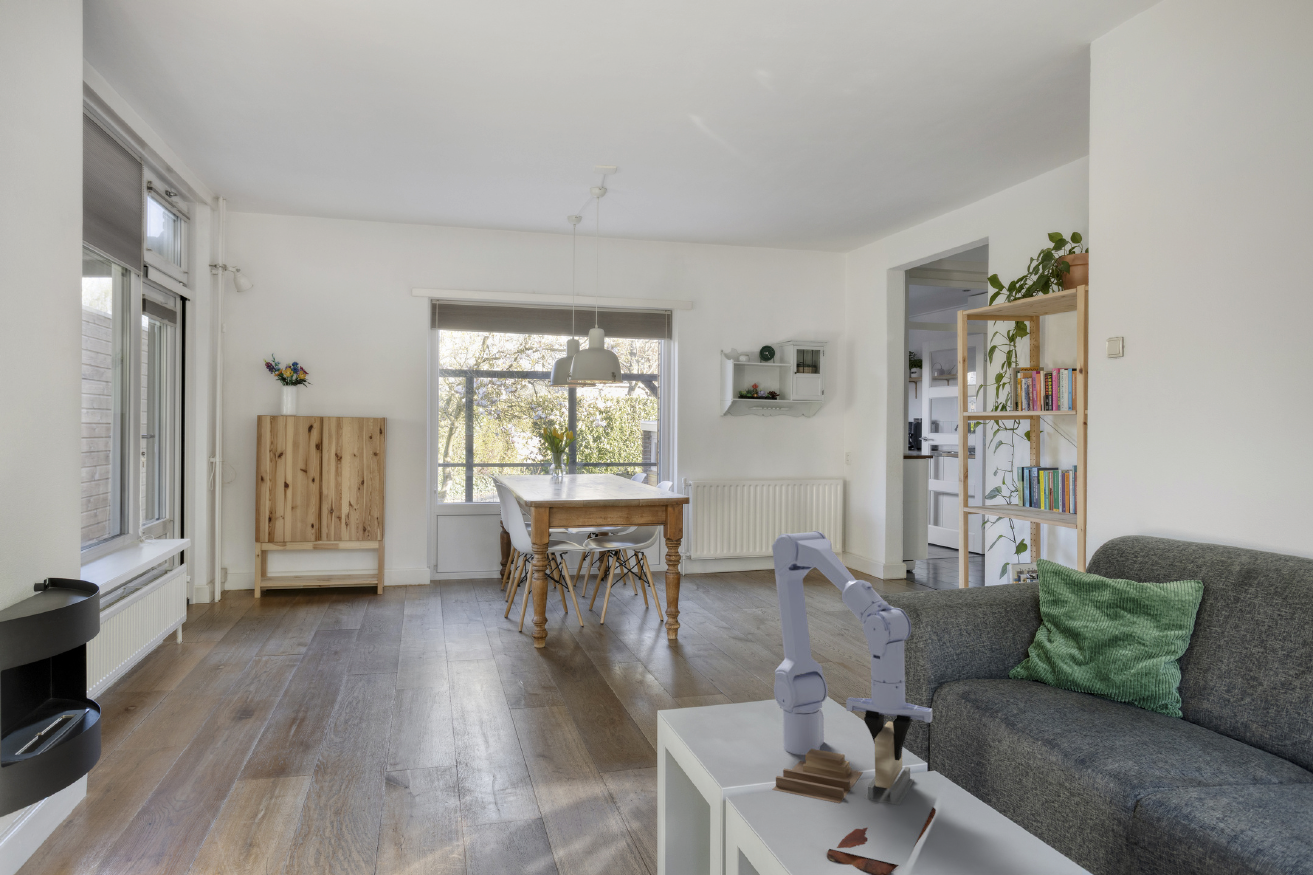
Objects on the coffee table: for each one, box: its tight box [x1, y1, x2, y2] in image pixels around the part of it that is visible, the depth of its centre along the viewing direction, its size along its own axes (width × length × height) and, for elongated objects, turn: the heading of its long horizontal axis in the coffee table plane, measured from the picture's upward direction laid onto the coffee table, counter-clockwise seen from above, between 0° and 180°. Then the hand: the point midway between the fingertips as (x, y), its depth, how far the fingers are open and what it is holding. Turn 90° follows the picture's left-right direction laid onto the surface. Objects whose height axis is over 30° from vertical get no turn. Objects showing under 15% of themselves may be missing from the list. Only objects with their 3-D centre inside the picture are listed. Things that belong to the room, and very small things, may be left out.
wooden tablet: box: [826, 807, 937, 875], centre depth 126 cm, size 27×10×2 cm, turn 144°
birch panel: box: [874, 720, 904, 789], centre depth 140 cm, size 2×10×8 cm, turn 151°
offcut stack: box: [803, 749, 852, 779], centre depth 148 cm, size 4×8×3 cm, turn 61°
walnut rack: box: [772, 760, 863, 804], centre depth 144 cm, size 15×12×2 cm
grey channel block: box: [863, 766, 915, 806], centre depth 141 cm, size 12×6×3 cm, turn 151°
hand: (889, 756), depth 141 cm, fingers closed on birch panel, 2 cm apart
